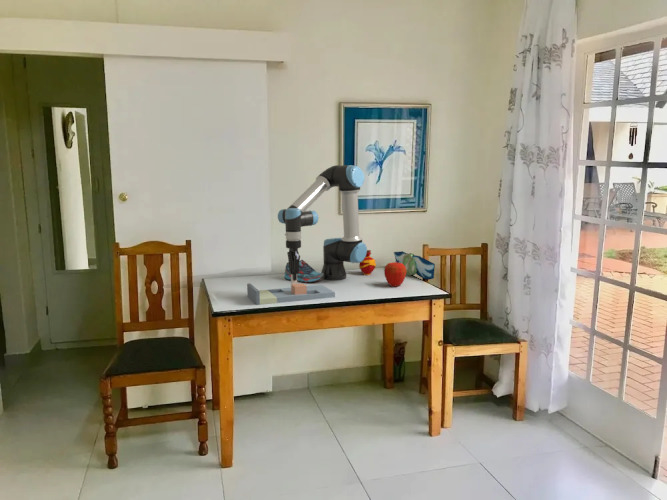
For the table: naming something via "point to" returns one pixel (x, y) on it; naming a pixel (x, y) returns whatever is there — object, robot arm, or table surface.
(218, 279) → the table surface
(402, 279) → the apple
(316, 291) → the grey flat slotted slab
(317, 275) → the running shoe
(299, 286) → the block
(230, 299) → the table surface
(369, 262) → the potion bottle
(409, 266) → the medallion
